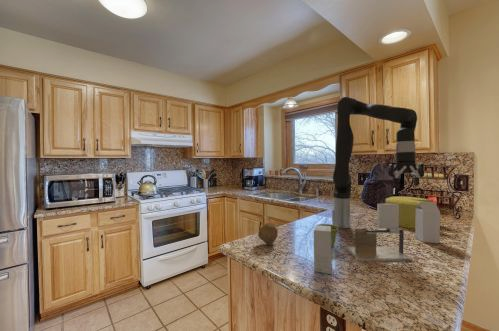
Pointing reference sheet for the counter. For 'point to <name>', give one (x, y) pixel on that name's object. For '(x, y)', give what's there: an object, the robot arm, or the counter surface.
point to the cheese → (406, 209)
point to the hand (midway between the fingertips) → (406, 185)
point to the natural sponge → (268, 233)
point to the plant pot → (332, 233)
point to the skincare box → (322, 249)
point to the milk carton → (427, 222)
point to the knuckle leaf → (388, 217)
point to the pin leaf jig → (369, 251)
